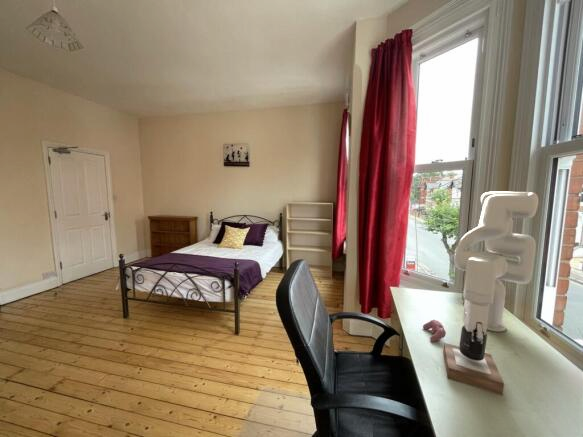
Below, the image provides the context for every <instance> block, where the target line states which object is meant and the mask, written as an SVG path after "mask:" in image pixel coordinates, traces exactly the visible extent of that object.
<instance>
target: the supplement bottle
mask: <svg viewBox="0 0 583 437" xmlns="http://www.w3.org/2000/svg"><path fill="white" fill-rule="evenodd" d="M474 332H477V330H474ZM475 336H477V334H474V337H475ZM470 340H471V332H468V331H467V330H466V328H465V325H464V324H463V325H462V326H461V332H460V339H459V345H458V346H459V350H460V352H461V353H462V354H463V355H464V356H465V357H467V358H469V359H472V360H475V361H481V360H483V359H484V355H485V353H486V349H487V342H488V334H487V332H486V334H485V335H483V344H482V352H481V355H479V354H475V353H471V352H469V342H470Z"/></svg>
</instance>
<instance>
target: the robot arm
mask: <svg viewBox="0 0 583 437" xmlns="http://www.w3.org/2000/svg"><path fill="white" fill-rule="evenodd" d="M480 204H481V207H482V210H481V213H480V218H479V222H478V226H477V227H475V228H473V229H472V230H469V231H468V232H467V233H465V234H464V235H463V236H462V237H461V239H460V240H459V241H458V245H457V248H456V251H455V256H454V262H453V263H454V265H455V267H456V268H457V269H458V270H460V271H463V272H465V277H464V286H463V287H464V288H463V298H464V304H463V310H462V315H461V316H462V319H461V320H462V322H463V326H464V325H465V328H466V330H467V331H468V332H471V340H470V342H469V352H471V353H475V354H479V355H481V352H482V344H483V335H485V334H486V333H487V331H491V332H496V333H497V332H498V333H499V332H505V331H506V330H507V325H506V324H505V323H504V322H503V317H504V310H505V300H506V296H507V295H506V294H507V289H506V287H505V285H504V283H503V282H502V281H506V282H511V283H515V284H521V285H522V284H523V285H527V284H529V283H530V282H531V281H532V278H533V272H534V264H535V257H536V249H537V248H536V247H537V245H536V240H535V238H534V237H533V236H531V235H530V234H529V235H528V234H522V233H514V232H513V228H514V220H513V218H515V219H517V218H518V219H531V218H534V216H535V215H536V214H537V210H538V207H539V206H538V205H539V197H538V195H537V193H536V192H531V191H488V192H484V193H483V194H482V195H481V196H480ZM480 242H484V247H485V249H486V251H488V252H483V251H477V250H471V249H470V250H469V248H470V247H471V246H473V245H474V244H477V243H480ZM502 255H504V256H502ZM505 256H511V257H515V258H508V257H505ZM516 258H517V259H516ZM474 330H477V332H474ZM474 334H477V336H475V337H474Z"/></svg>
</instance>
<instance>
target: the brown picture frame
mask: <svg viewBox="0 0 583 437" xmlns="http://www.w3.org/2000/svg"><path fill="white" fill-rule="evenodd" d="M459 346H460V345H455V344H451V343H446V342H443V349H442V355H443V361H444V366H445V371H446V372H445V373H446V377H447V379H448V380H452V381H454V382H456V383H461V384H464V385H467V386H469V387H470V386H471V387H473V388H478V389H480V390H484V391H486V392H491V393H494V394H497V395H500V396H503V395H504V389H505V388H504V387H505V382H504V380H503V378H502V376H501V373H500V371H499V369H498V367H497V364H496V363H495V360H494V358H493V355H492V354H491V353H487V352H485V355H484V359H483V360H481V361H475V360H472V359H469V358H467V357H465V356H464V355H463V354H462V353H461V352H460V350H459Z"/></svg>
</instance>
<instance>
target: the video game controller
mask: <svg viewBox="0 0 583 437" xmlns="http://www.w3.org/2000/svg"><path fill="white" fill-rule="evenodd" d="M422 329H424V330H431V333H432V335H431V336H430V337H429V340H430V341H431V342H438V341H440V340H441V339H443V338H445V336H446V335H447V334H446V332H447V331H446V330H445V328H444V325H443V324H442V323H441V322H440V321H439V320H435V319H433V320H429V321H428V322H427V323H424V324H423V326H422Z"/></svg>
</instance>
